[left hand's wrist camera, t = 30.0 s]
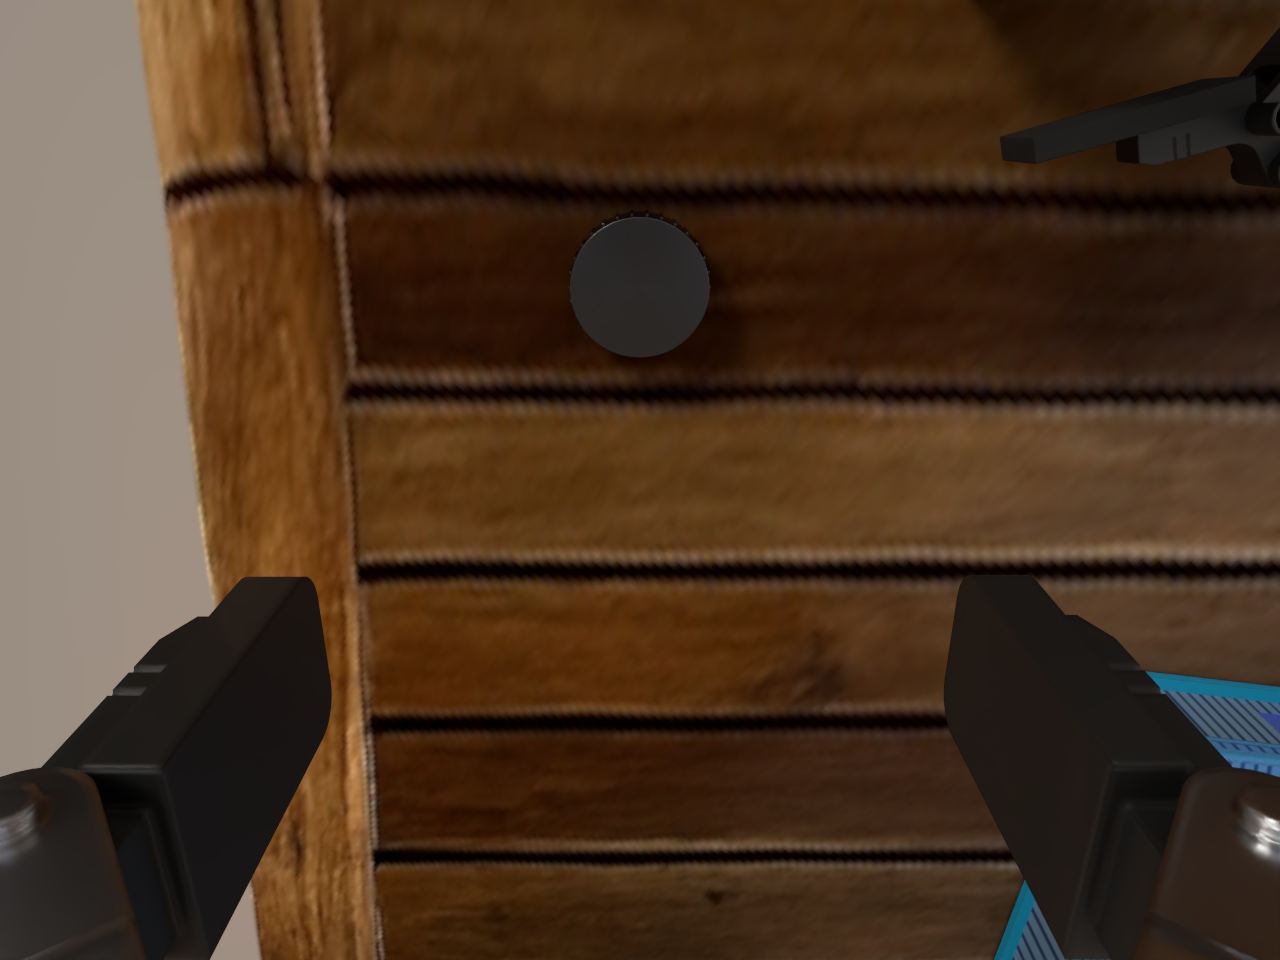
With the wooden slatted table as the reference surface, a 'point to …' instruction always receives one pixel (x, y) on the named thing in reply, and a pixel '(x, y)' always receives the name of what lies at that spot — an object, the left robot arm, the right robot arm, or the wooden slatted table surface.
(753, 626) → the wooden slatted table surface
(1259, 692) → the model building
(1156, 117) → the right robot arm
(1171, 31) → the wooden slatted table surface
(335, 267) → the wooden slatted table surface
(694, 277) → the lid
